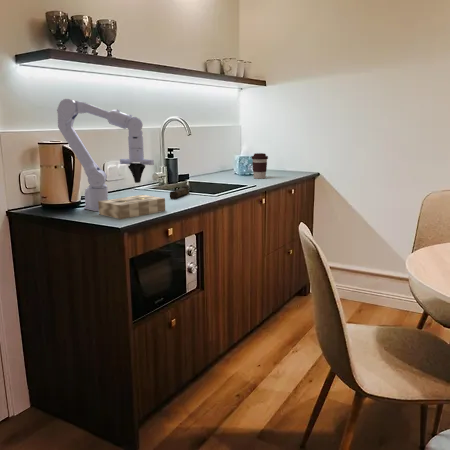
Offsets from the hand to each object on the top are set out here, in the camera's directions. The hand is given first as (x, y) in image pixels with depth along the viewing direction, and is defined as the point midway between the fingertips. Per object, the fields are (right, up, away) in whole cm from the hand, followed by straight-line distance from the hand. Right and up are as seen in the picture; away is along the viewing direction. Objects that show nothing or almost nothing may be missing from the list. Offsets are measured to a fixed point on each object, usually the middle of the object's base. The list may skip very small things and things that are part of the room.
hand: (137, 182), depth 189 cm
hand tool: (+14, -4, +33) cm, 36 cm away
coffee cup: (+56, +11, +99) cm, 114 cm away
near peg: (-4, -13, -10) cm, 17 cm away
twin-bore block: (-1, -12, -7) cm, 14 cm away
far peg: (+2, -11, -4) cm, 12 cm away
